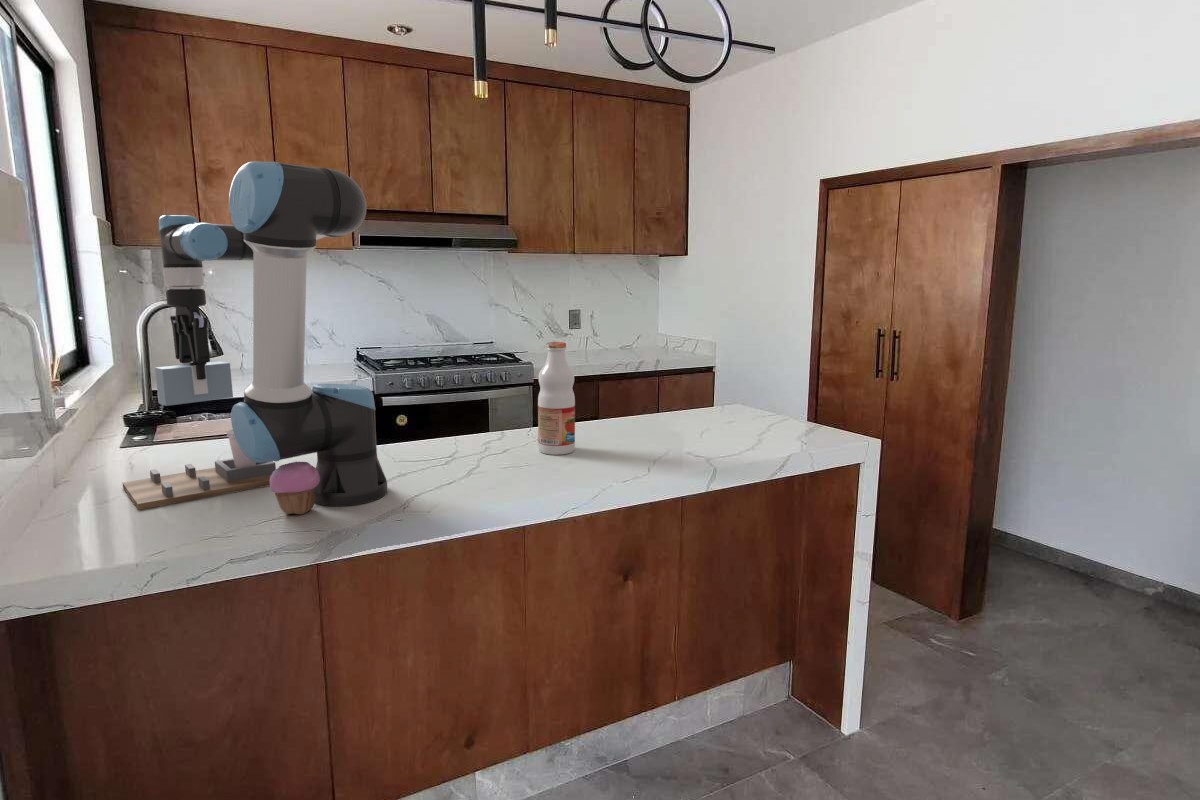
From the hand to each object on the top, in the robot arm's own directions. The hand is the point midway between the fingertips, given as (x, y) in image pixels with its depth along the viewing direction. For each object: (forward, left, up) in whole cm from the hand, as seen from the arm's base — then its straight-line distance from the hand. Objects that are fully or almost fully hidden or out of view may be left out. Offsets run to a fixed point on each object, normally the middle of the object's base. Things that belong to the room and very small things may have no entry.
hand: (196, 392), depth 163 cm
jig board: (-12, +2, -18) cm, 22 cm away
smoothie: (-12, -6, -17) cm, 22 cm away
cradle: (-12, -6, -17) cm, 22 cm away
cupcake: (-42, -7, -19) cm, 47 cm away
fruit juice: (-37, -74, -19) cm, 85 cm away
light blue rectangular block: (0, 0, -2) cm, 2 cm away
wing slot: (-12, +7, -17) cm, 22 cm away
